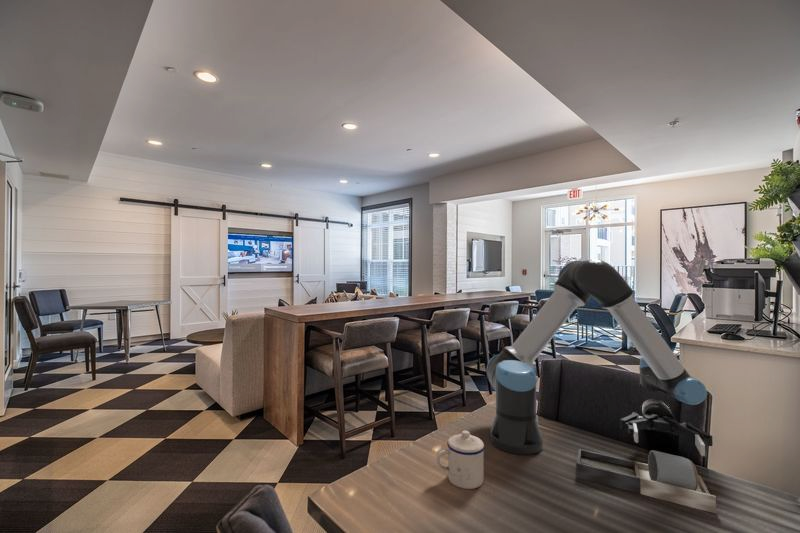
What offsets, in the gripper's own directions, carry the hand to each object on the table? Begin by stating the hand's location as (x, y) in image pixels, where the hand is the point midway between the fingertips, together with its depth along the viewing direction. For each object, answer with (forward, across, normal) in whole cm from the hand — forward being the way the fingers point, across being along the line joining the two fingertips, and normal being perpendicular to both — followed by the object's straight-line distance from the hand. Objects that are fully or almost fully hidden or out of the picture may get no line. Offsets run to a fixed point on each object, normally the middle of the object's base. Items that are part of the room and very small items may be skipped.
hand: (668, 443), depth 89 cm
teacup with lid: (+29, +45, -8) cm, 54 cm away
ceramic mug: (+6, +1, -7) cm, 9 cm away
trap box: (+6, +7, -8) cm, 12 cm away
